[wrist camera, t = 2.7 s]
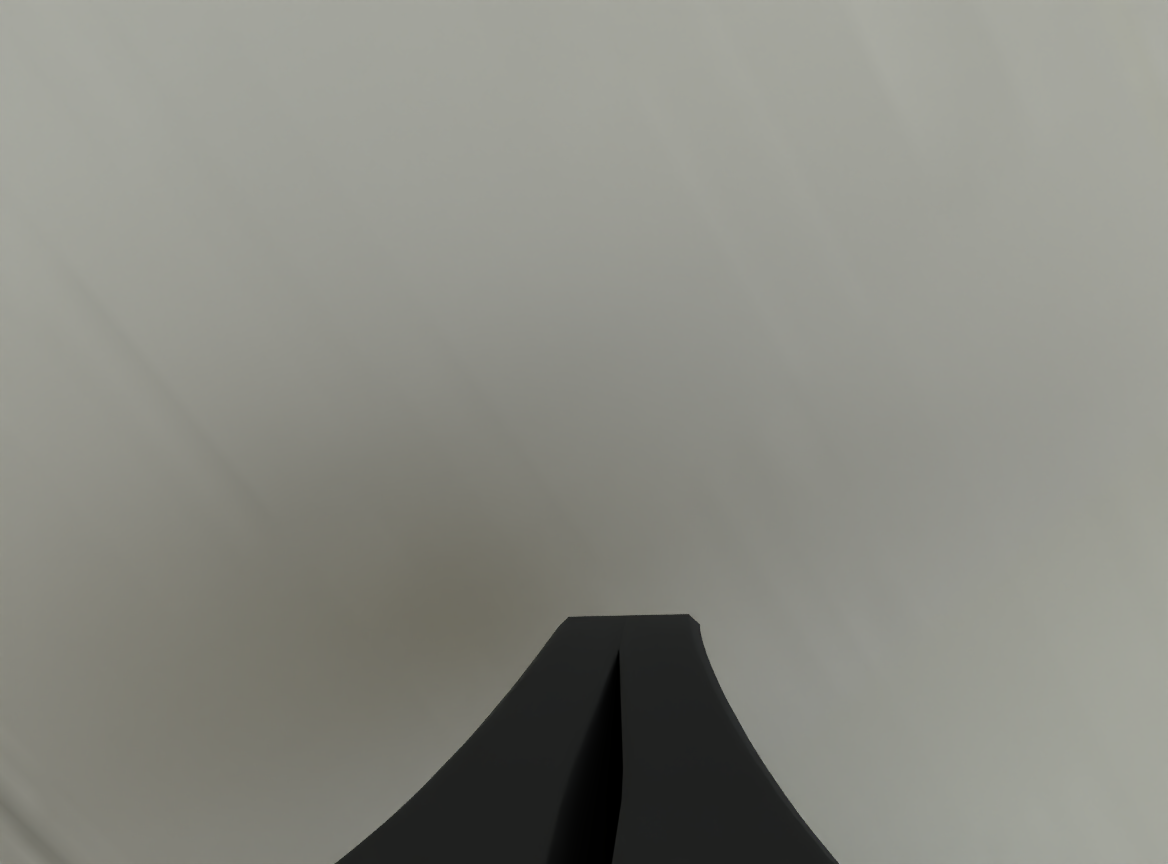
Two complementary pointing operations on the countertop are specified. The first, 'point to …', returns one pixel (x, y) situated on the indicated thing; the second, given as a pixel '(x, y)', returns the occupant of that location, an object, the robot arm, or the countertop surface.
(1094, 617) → the countertop surface
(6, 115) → the countertop surface
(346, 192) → the countertop surface
